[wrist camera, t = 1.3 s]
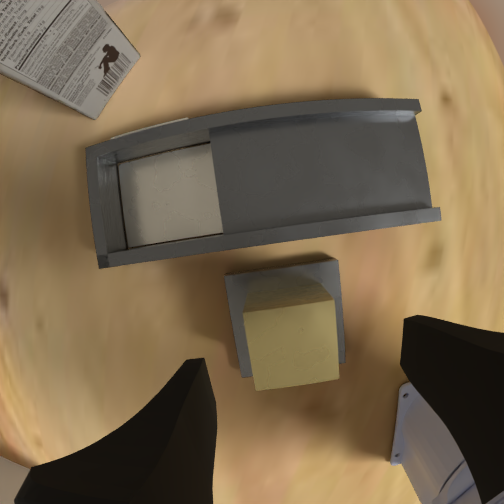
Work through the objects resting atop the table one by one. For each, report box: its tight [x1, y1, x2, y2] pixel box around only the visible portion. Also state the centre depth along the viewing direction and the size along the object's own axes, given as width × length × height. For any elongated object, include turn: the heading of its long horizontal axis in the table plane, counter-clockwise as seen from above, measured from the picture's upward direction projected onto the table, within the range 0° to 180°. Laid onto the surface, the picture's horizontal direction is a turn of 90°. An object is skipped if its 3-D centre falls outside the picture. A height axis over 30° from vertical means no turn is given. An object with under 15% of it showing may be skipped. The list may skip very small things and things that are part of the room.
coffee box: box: [0, 0, 140, 120], centre depth 11 cm, size 9×6×16 cm
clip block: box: [243, 283, 339, 391], centre depth 17 cm, size 4×4×4 cm
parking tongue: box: [224, 258, 345, 377], centre depth 19 cm, size 7×7×1 cm
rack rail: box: [86, 98, 441, 269], centre depth 17 cm, size 8×21×3 cm, turn 98°
